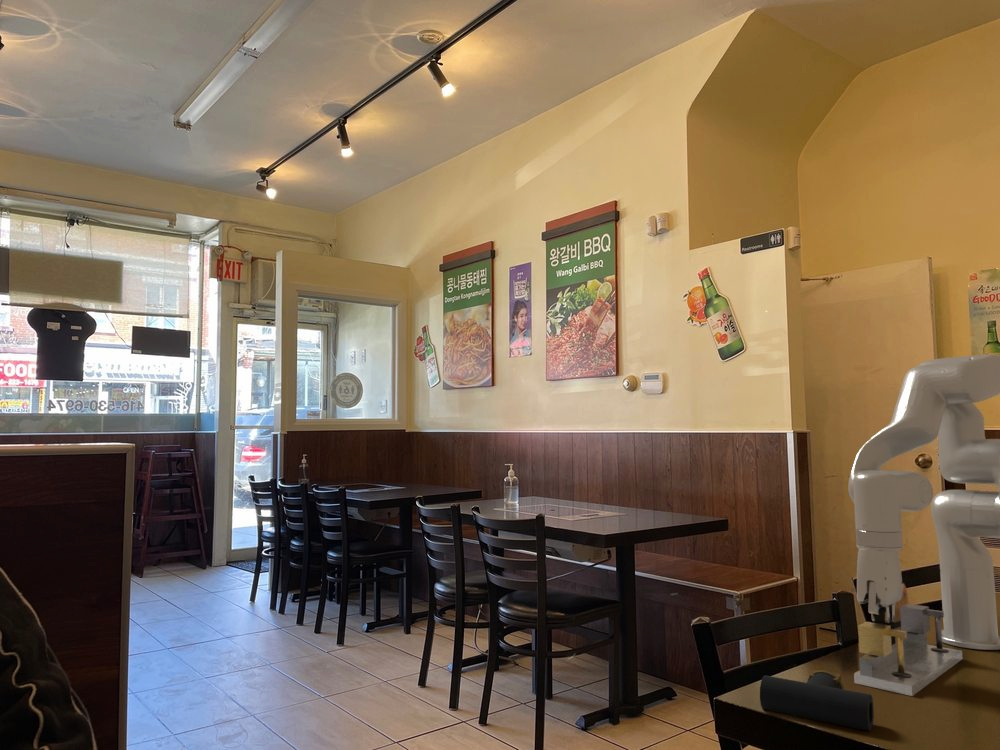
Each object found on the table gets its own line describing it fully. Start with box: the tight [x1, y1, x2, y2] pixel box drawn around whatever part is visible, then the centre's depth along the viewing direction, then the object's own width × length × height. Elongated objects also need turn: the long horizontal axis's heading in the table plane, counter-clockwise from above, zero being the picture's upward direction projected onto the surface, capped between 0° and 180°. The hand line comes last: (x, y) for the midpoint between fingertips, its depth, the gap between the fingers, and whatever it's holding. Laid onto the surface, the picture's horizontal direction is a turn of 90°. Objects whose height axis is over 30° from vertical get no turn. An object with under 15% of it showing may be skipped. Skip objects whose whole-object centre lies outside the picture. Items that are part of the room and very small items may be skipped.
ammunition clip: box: [893, 582, 910, 639], centre depth 147 cm, size 11×2×12 cm, turn 129°
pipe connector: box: [759, 669, 875, 732], centre depth 110 cm, size 12×5×15 cm
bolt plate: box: [853, 632, 964, 697], centre depth 130 cm, size 30×9×4 cm, turn 134°
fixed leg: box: [900, 603, 944, 649], centre depth 139 cm, size 4×7×7 cm, turn 44°
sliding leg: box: [857, 621, 907, 674], centre depth 124 cm, size 4×7×7 cm, turn 44°
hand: (884, 643), depth 128 cm, fingers closed
